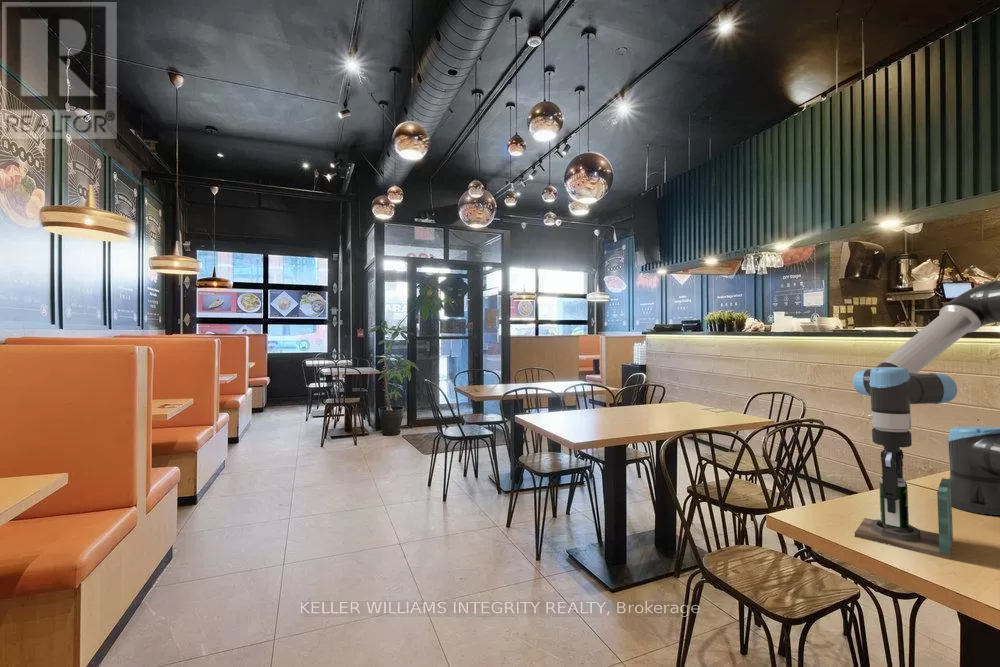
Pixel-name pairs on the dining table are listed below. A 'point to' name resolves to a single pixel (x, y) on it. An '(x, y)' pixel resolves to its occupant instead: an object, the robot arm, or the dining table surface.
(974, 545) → the dining table surface
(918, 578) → the dining table surface
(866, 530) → the seat plate
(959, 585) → the dining table surface
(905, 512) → the green drink can
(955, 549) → the dining table surface
